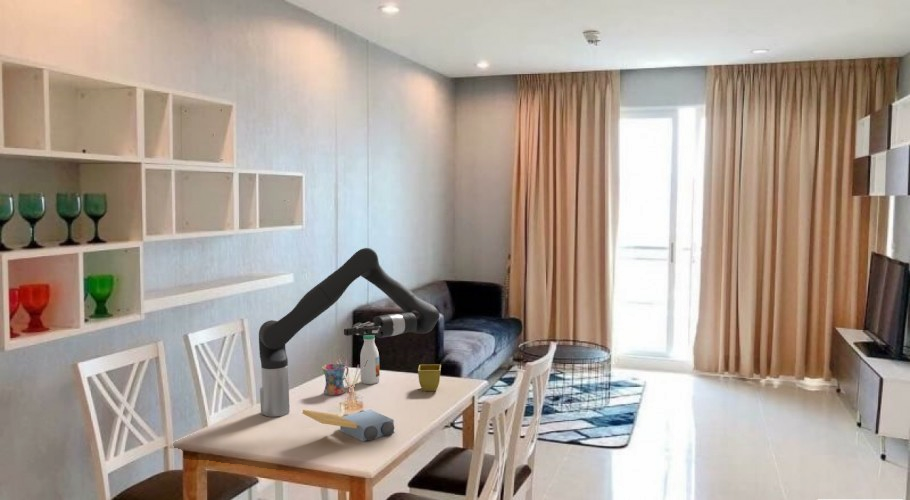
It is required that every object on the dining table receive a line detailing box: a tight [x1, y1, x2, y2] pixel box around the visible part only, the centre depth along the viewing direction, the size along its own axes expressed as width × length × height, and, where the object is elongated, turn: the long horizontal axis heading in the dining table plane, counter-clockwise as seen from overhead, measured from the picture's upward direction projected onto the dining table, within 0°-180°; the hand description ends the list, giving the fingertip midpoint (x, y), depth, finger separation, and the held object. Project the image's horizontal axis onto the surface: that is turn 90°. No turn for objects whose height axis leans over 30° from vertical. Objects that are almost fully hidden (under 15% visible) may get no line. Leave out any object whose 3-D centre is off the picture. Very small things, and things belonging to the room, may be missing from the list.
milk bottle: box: [359, 335, 381, 385], centre depth 297 cm, size 8×8×20 cm
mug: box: [321, 363, 349, 396], centre depth 284 cm, size 12×9×11 cm
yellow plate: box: [301, 409, 361, 429], centre depth 231 cm, size 2×15×14 cm
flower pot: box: [417, 364, 442, 392], centre depth 286 cm, size 9×9×9 cm
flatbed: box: [339, 409, 395, 442], centre depth 239 cm, size 12×16×4 cm
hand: (345, 332), depth 241 cm, fingers closed
